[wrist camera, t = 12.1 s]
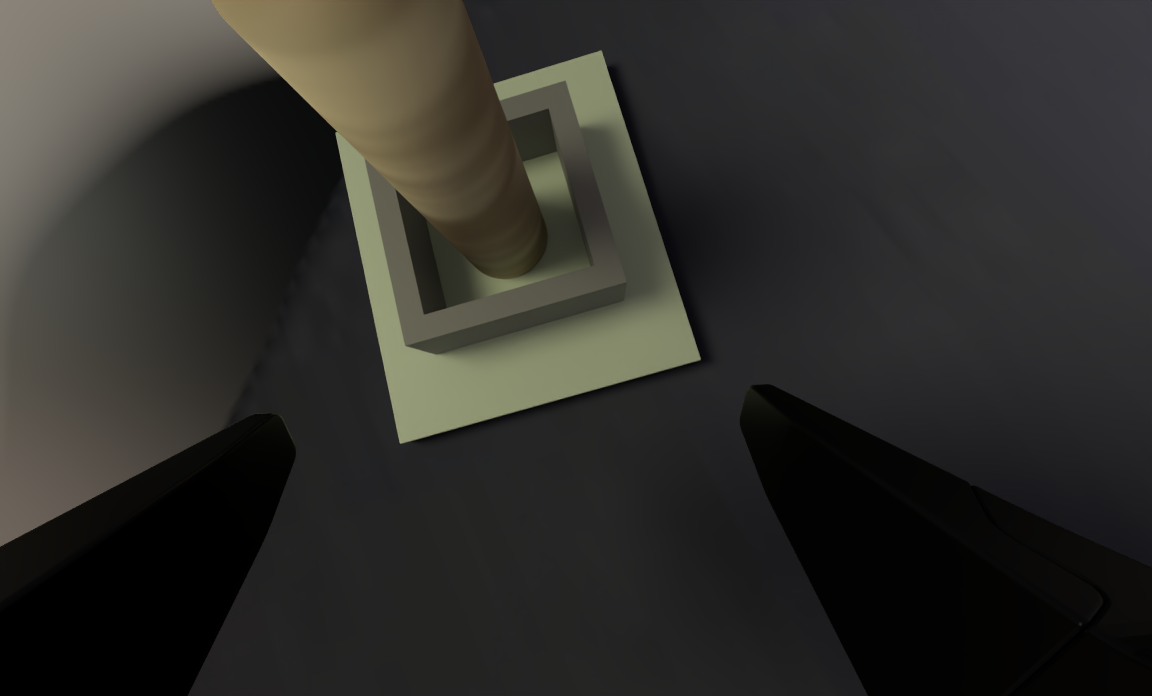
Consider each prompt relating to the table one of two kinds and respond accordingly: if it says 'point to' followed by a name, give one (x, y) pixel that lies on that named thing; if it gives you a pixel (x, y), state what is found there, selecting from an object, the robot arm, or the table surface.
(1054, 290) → the table surface
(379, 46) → the plug peg
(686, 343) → the socket board
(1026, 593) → the robot arm
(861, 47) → the table surface
